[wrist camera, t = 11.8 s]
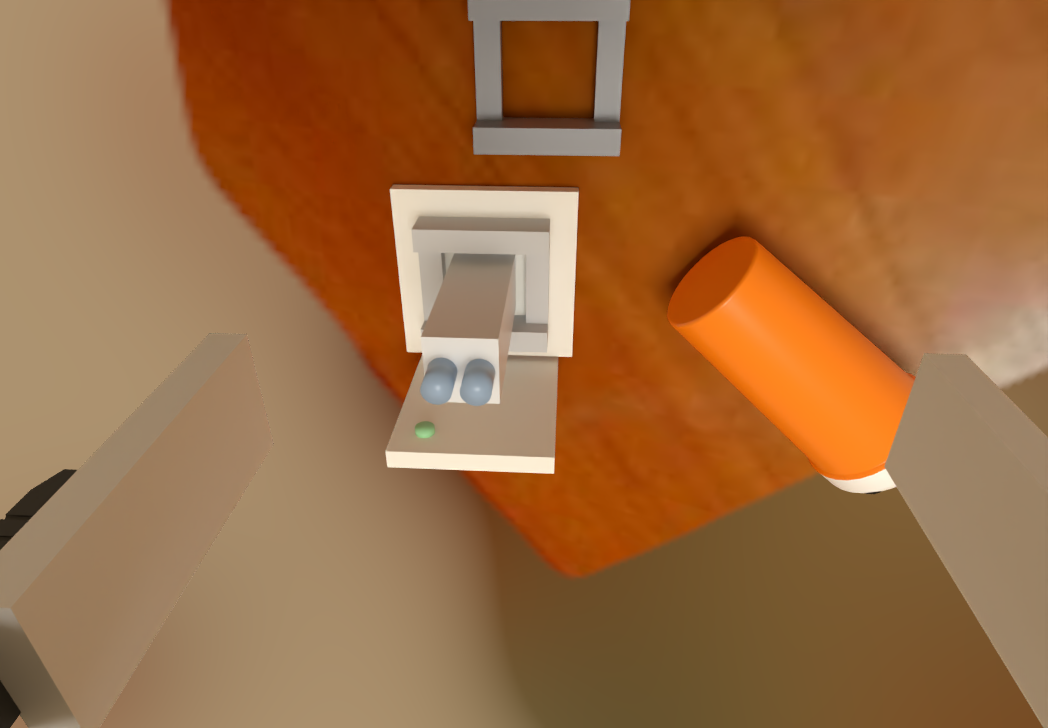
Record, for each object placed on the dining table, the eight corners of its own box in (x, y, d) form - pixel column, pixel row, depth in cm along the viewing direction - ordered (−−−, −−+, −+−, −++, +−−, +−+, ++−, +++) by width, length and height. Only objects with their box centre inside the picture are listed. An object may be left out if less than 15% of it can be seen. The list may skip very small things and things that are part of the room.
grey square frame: (474, -14, 38) (467, -12, 35) (627, -14, 37) (631, -12, 35) (479, 142, 42) (473, 154, 40) (616, 143, 42) (619, 156, 39)
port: (393, 184, 44) (338, 253, 34) (578, 187, 43) (580, 259, 33) (411, 363, 51) (371, 466, 41) (571, 368, 50) (570, 474, 40)
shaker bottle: (650, 363, 41) (853, 534, 47) (776, 277, 35) (987, 482, 41) (658, 282, 47) (835, 440, 53) (765, 199, 42) (949, 386, 48)
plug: (455, 250, 45) (412, 356, 33) (515, 251, 45) (494, 359, 33) (458, 304, 47) (419, 423, 35) (516, 305, 47) (496, 425, 35)
